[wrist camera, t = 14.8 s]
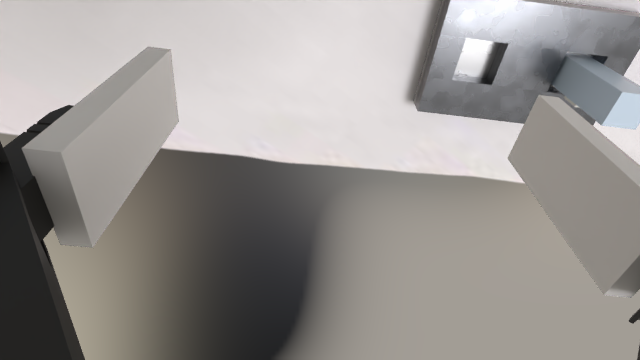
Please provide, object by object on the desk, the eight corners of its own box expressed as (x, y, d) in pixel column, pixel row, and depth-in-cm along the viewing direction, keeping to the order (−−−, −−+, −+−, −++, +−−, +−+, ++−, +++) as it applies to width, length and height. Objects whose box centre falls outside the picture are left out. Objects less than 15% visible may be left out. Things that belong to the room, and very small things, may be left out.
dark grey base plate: (446, -14, 43) (453, -9, 40) (639, 12, 44) (657, 19, 42) (413, 101, 51) (417, 111, 48) (577, 120, 52) (589, 131, 50)
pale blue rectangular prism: (560, 52, 46) (622, 92, 36) (588, 55, 46) (658, 96, 37) (543, 85, 49) (597, 131, 39) (570, 89, 49) (631, 135, 39)
